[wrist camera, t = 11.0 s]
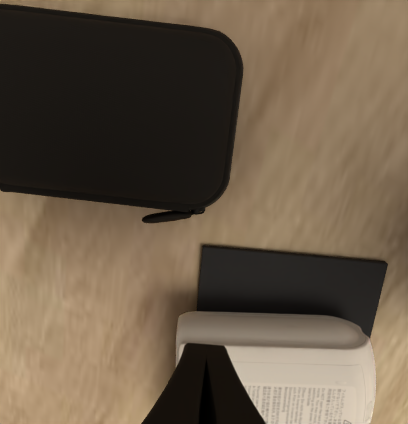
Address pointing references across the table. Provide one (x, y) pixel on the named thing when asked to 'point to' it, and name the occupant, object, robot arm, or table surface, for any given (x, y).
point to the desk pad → (290, 284)
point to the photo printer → (292, 363)
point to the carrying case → (116, 110)
